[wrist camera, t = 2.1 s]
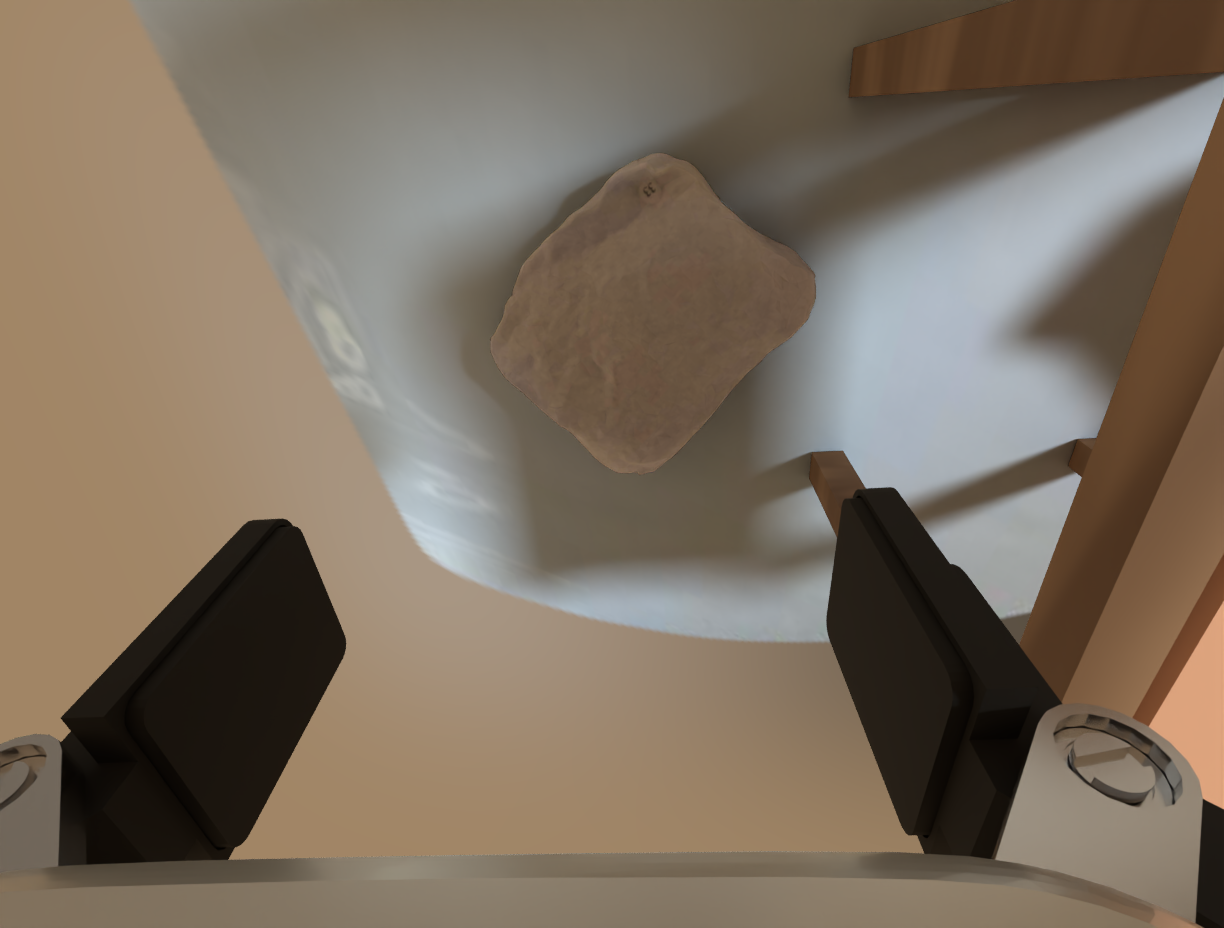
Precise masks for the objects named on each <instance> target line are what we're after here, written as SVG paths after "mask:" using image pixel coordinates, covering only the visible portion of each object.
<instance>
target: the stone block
mask: <svg viewBox="0 0 1224 928" xmlns="http://www.w3.org/2000/svg"><path fill="white" fill-rule="evenodd" d="M815 299H816V285H815V273H814V272H813V271H812V270H811V269H810V267H809V266H808V265H807V264H806V263H805V262H804V261H803V260H802V259H801V258H800V256H799V255H798V253H797V252H795V251H794V250H792V249H791V248H789V247H788V246H786V245H783V244H782V243H779V242H776V241H774V240H772V239H771V238H769V237H767V236H764V235H762V234H760V233H759V232H757V231H756V230H754V229H752V228H751V227H749V226H748V225H746V224H745V223H744V222H743V221H742V220H741V219H740V218H739V217H738V216H737V215H736V214H735V213H733V212H732V211H731V210H730V209H729V208H727V207H726V206H725V205H724V204H722V203H721V201H720V199H719V198H718V196H717V195H716V194H715V193H714V192H713V190H712V188H711V187H710V186H709V185H708V183H707V181H706V180H705V178H704V177H703V176H702V175H701V173H700V172H699V171H698V170H697V169H696V168H695V167H694V166H693V165H692V164H690V163H689V162H687V161H685V160H680V159H676V158H674V157H672V156H670V155H668V154H665V153H654V154H650V155H648V156H647V157H644V158H641V159H638V160H635V161H632V162H631V163H629V164H628V165H626V166H624V167H622V168H620V169H619V170H618V171H616V172H615V173H614V174H613V175H612V176H611V177H610V178H609V179H608V180H607V181H606V182H605V184H604V186H603V187H602V188H601V189H600V190H599V192H598V193H596V194H595V195H594V196H593V197H592V198H591V199H590V200H589V201H588V202H587V203H586V204H585V205H584V206H583V207H582V208H580V209H578V210H577V211H575V212H574V213H572V214H571V215H570V216H568V217H567V218H566V220H565V221H564V222H563V224H562V225H561V226H560V227H559V228H558V229H557V230H556V231H554V232H553V233H551V234H550V235H549V236H548V237H547V238H546V239H545V240H544V241H543V242H542V244H541V245H540V246H539V247H538V248H537V249H536V250H535V251H534V252H533V253H532V254H531V255H530V257H529V258H528V259H527V260H526V261H525V263H524V264H523V265H522V267H521V269H520V272H519V274H518V277H517V280H516V283H515V286H514V288H513V293H512V296H511V297H510V298H509V299H508V301H507V303H506V304H505V308H504V314H503V317H502V320H501V322H500V324H499V325H498V327H497V329H496V331H495V333H494V335H493V336H492V337H491V339H490V341H491V343H490V349H491V354H492V356H493V358H494V361H495V363H496V365H497V367H498V368H499V370H500V371H501V373H502V375H503V376H504V377H505V378H506V379H507V380H508V381H509V382H510V383H511V384H512V385H513V386H515V387H516V388H517V389H519V390H520V391H521V392H523V393H524V394H525V396H526V397H528V398H529V399H530V400H531V401H532V402H533V403H534V404H535V405H536V406H537V407H538V408H539V409H540V410H542V411H543V412H544V413H545V414H546V415H547V416H549V417H550V418H551V419H552V420H554V421H555V422H556V423H557V424H558V425H559V426H561V427H563V428H565V429H566V430H568V431H569V432H571V433H572V434H573V435H574V436H575V437H576V438H577V439H578V441H579V442H580V443H581V444H582V445H583V446H584V447H585V448H586V449H587V450H588V451H589V452H590V453H591V454H592V455H593V456H594V458H596V459H597V460H598V461H599V462H600V463H602V464H603V465H604V466H606V467H608V468H610V469H612V470H613V471H615V472H617V473H632V472H635V473H638V474H639V475H641V474H645V473H648V472H654V471H655V470H657V469H658V468H659V467H660V466H662V465H663V464H664V463H665V462H666V461H668V460H669V459H671V458H672V457H673V456H674V455H675V454H676V453H677V452H678V451H679V450H680V449H681V448H682V447H683V446H684V445H685V444H686V443H687V442H688V441H689V440H690V438H691V437H692V436H693V435H694V434H695V433H696V432H697V431H698V430H699V429H700V428H701V427H702V426H703V425H704V424H705V423H706V421H707V420H708V419H709V418H710V417H711V416H712V415H713V413H714V412H715V411H716V410H717V409H718V407H719V406H720V405H721V403H722V402H723V401H724V399H725V398H726V397H727V396H728V394H729V393H730V392H731V391H732V390H733V388H734V387H735V386H736V385H737V384H738V383H739V382H740V381H741V379H742V378H743V377H744V376H745V375H746V374H747V373H748V372H749V371H750V370H751V369H753V368H754V367H755V366H756V365H758V364H759V363H760V362H761V361H762V360H763V358H764V357H765V356H766V355H767V354H768V353H769V352H771V351H772V350H774V349H775V348H777V347H778V346H779V345H781V344H782V343H784V342H785V341H787V340H788V339H790V338H791V337H792V336H793V335H794V334H795V333H796V332H797V331H798V330H799V329H800V327H801V326H802V325H803V324H804V323H805V322H806V321H807V320H808V317H809V315H810V313H811V310H812V308H813V306H814V302H815Z"/></svg>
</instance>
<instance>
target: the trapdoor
mask: <svg viewBox="0 0 1224 928" xmlns="http://www.w3.org/2000/svg"><path fill="white" fill-rule="evenodd" d="M1133 719H1135V720H1137V721H1139V722H1141V723H1143V724H1144V725H1146V726H1148V727H1150V728H1151V729H1152V730H1154V731H1155V732H1156V733H1158V734H1159V735H1161V736H1162V737H1163V738H1165V739H1166V740H1167V741H1169V742H1170V743H1171V744H1172V745H1173V746H1174V747H1175V748H1176V749H1177V750H1178V751H1179V752H1180V753H1181V754H1182V755H1183V756H1184V757H1185V758H1186V759H1187V761H1188V762H1189V764H1190V765H1191V767H1192V769H1193V770H1194V772H1195V774H1196V775H1197V777H1198V779H1199V781H1200V786H1201V791H1202V797H1203V799H1205V800H1207V801H1208V802H1210V803H1212V804H1214V805H1216V806H1218V807H1220V808H1222V809H1224V554H1223V556H1222V558H1221V559H1220V561H1219V563H1218V565H1217V567H1216V568H1215V570H1214V572H1213V574H1212V576H1211V577H1210V579H1209V581H1208V583H1207V585H1206V586H1205V588H1204V590H1203V592H1202V594H1201V595H1200V597H1199V599H1198V601H1197V603H1196V604H1195V606H1194V608H1193V610H1192V612H1191V613H1190V615H1189V617H1188V619H1187V621H1186V622H1185V624H1184V626H1183V628H1182V630H1181V631H1180V633H1179V635H1178V637H1177V639H1176V640H1175V642H1174V644H1173V646H1172V648H1171V649H1170V651H1169V653H1168V655H1167V657H1166V658H1165V660H1164V662H1163V664H1162V665H1161V667H1160V669H1159V671H1158V673H1157V674H1156V676H1155V678H1154V680H1153V682H1152V683H1151V685H1150V687H1149V689H1148V691H1147V692H1146V694H1145V696H1144V698H1143V700H1142V701H1141V703H1140V705H1139V707H1138V709H1137V710H1136V712H1135V714H1134V716H1133Z"/></svg>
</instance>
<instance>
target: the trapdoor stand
mask: <svg viewBox="0 0 1224 928" xmlns="http://www.w3.org/2000/svg"><path fill="white" fill-rule="evenodd" d="M1214 72H1224V0H1015V1H1012V2H1008V3H1005V4H1001V5H998V6H995V7H991V8H988V9H985V10H981V11H978V12H974V13H971V14H968V15H964V16H961V17H957V18H954V19H951V20H947V21H944V22H940V23H937V24H934V25H930V26H927V27H923V28H920V29H917V30H913V31H910V32H906V33H903V34H900V35H896V36H893V37H889V38H886V39H883V40H879V41H876V42H872V43H869V44H866V45H862V46H859V47H855V48H854V49H853V59H852V69H851V78H850V88H849V97H861V96H876V95H891V94H905V93H920V92H935V91H950V90H964V89H979V88H994V87H1008V86H1023V85H1038V84H1052V83H1067V82H1082V81H1096V80H1111V79H1126V78H1141V77H1155V76H1170V75H1185V74H1199V73H1214ZM1068 466H1069V467H1070V468H1071V469H1072V470H1074V471H1075V472H1076V473H1077V474H1078V475H1080V476H1081V477H1082V479H1081V481H1080V484H1079V487H1078V489H1077V492H1076V495H1075V497H1074V500H1073V503H1072V505H1071V508H1070V511H1069V513H1068V516H1067V519H1066V521H1065V524H1064V527H1063V529H1062V532H1061V535H1060V537H1059V540H1058V543H1057V545H1056V548H1055V551H1054V553H1053V556H1052V559H1051V561H1050V564H1049V567H1048V570H1047V572H1046V575H1045V578H1044V580H1043V583H1042V586H1041V588H1040V591H1039V594H1038V596H1037V599H1036V602H1035V604H1034V607H1033V610H1032V612H1031V615H1030V618H1029V621H1028V623H1027V626H1026V628H1025V631H1024V634H1023V637H1022V639H1021V642H1020V645H1019V646H1020V647H1021V648H1022V650H1023V651H1024V652H1025V654H1026V655H1027V657H1028V658H1029V659H1030V661H1031V662H1032V663H1033V665H1034V666H1035V667H1036V669H1037V670H1038V671H1039V673H1040V674H1041V675H1042V677H1043V678H1044V679H1045V681H1046V682H1047V683H1048V685H1049V686H1050V688H1051V689H1052V690H1053V692H1054V693H1055V694H1056V696H1057V697H1058V698H1059V700H1060V701H1061V702H1062V704H1072V703H1083V704H1090V705H1097V706H1102V707H1105V708H1108V709H1111V710H1114V711H1117V712H1120V713H1123V714H1125V715H1127V716H1129V717H1131V718H1133V716H1134V714H1135V712H1136V710H1137V709H1138V707H1139V705H1140V703H1141V701H1142V700H1143V698H1144V696H1145V694H1146V692H1147V691H1148V689H1149V687H1150V685H1151V683H1152V682H1153V680H1154V678H1155V676H1156V674H1157V673H1158V671H1159V669H1160V667H1161V665H1162V664H1163V662H1164V660H1165V658H1166V657H1167V655H1168V653H1169V651H1170V649H1171V648H1172V646H1173V644H1174V642H1175V640H1176V639H1177V637H1178V635H1179V633H1180V631H1181V630H1182V628H1183V626H1184V624H1185V622H1186V621H1187V619H1188V617H1189V615H1190V613H1191V612H1192V610H1193V608H1194V606H1195V604H1196V603H1197V601H1198V599H1199V597H1200V595H1201V594H1202V592H1203V590H1204V588H1205V586H1206V585H1207V583H1208V581H1209V579H1210V577H1211V576H1212V574H1213V572H1214V570H1215V568H1216V567H1217V565H1218V563H1219V561H1220V559H1221V558H1222V556H1223V554H1224V99H1223V101H1222V104H1221V107H1220V109H1219V112H1218V115H1217V117H1216V120H1215V123H1214V125H1213V128H1212V131H1211V133H1210V136H1209V139H1208V141H1207V144H1206V147H1205V149H1204V152H1203V155H1202V157H1201V160H1200V163H1199V165H1198V168H1197V171H1196V173H1195V176H1194V179H1193V181H1192V184H1191V187H1190V190H1189V192H1188V195H1187V198H1186V200H1185V203H1184V206H1183V208H1182V211H1181V214H1180V216H1179V219H1178V222H1177V224H1176V227H1175V230H1174V232H1173V235H1172V238H1171V240H1170V243H1169V246H1168V248H1167V251H1166V254H1165V256H1164V259H1163V262H1162V264H1161V267H1160V270H1159V272H1158V275H1157V278H1156V280H1155V283H1154V286H1153V289H1152V291H1151V294H1150V297H1149V299H1148V302H1147V305H1146V307H1145V310H1144V313H1143V315H1142V318H1141V321H1140V323H1139V326H1138V329H1137V331H1136V334H1135V337H1134V339H1133V342H1132V345H1131V347H1130V350H1129V353H1128V355H1127V358H1126V361H1125V363H1124V366H1123V369H1122V371H1121V374H1120V377H1119V380H1118V382H1117V385H1116V388H1115V390H1114V393H1113V396H1112V398H1111V401H1110V404H1109V406H1108V409H1107V412H1106V414H1105V417H1104V420H1103V422H1102V425H1101V428H1100V430H1099V433H1098V436H1097V438H1091V439H1078V440H1077V443H1076V445H1075V448H1074V451H1073V454H1072V457H1071V460H1070V462H1069V465H1068ZM809 479H810V481H811V483H812V485H813V487H814V490H815V492H816V494H817V496H818V498H819V500H820V502H821V504H822V507H823V509H824V511H825V513H826V515H827V517H828V519H829V521H830V524H831V526H832V528H833V530H834V532H835V534H836V536H837V537H838V529H839V522H840V515H841V507H842V503H843V500H844V499H846V498H853V495H854V493H855V491H856V490H857V489H866V488H865V486H864V485H863V483H862V481H861V480H860V478H859V477H858V475H857V473H856V472H855V470H854V468H853V467H852V465H851V463H850V462H849V460H848V458H847V457H846V455H845V453H844V452H843V451H828V452H812V455H811V465H810V474H809Z"/></svg>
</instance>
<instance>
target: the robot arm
mask: <svg viewBox="0 0 1224 928" xmlns="http://www.w3.org/2000/svg"><path fill="white" fill-rule="evenodd" d="M826 621H827V632H828V636H829V639H830V642H831V645H832V647H833V650H834V653H835V655H836V658H837V660H838V663H839V665H840V668H841V671H842V673H843V676H844V678H845V681H846V684H847V686H848V689H849V691H850V694H851V696H852V699H853V702H854V704H855V707H856V710H857V712H858V714H859V717H860V720H861V723H862V725H863V727H864V730H865V733H866V735H867V738H868V741H869V743H870V746H871V749H872V751H873V754H874V756H875V759H876V761H877V764H878V767H879V769H880V772H881V774H882V777H883V780H884V782H885V785H886V787H887V790H888V793H889V795H890V798H891V800H892V803H893V805H894V808H895V811H896V813H897V816H898V818H899V821H900V823H901V826H902V828H903V829H904V831H905V832H906V834H908V835H917V836H918V839H919V841H920V844H921V846H922V848H923V851H924V854H919V853H900V852H897V853H896V852H686V853H685V852H684V853H683V852H681V853H680V852H679V853H593V854H591V853H585V854H523V855H522V854H521V855H520V854H518V855H456V856H455V855H454V856H396V857H342V858H295V859H249V860H228V859H229V857H230V855H231V853H232V852H233V850H234V848H235V847H237V846H239V845H241V844H242V843H243V842H244V841H245V840H246V839H247V837H248V835H249V834H250V832H251V830H252V828H253V826H254V825H255V823H256V820H257V819H258V817H259V815H260V813H261V811H262V809H263V808H264V806H265V804H266V802H267V800H268V798H269V796H270V794H271V793H272V790H273V789H274V787H275V785H276V783H277V781H278V779H279V777H280V776H281V774H282V772H283V770H284V768H285V766H286V764H287V762H288V760H289V759H290V757H291V755H292V753H293V751H294V749H295V747H296V745H297V743H298V742H299V740H300V738H301V736H302V734H303V732H304V730H305V728H306V727H307V725H308V723H309V721H310V719H311V717H312V715H313V713H314V711H315V710H316V708H317V706H318V704H319V702H320V700H321V698H322V696H323V695H324V693H325V691H326V689H327V687H328V685H329V683H330V681H331V680H332V678H333V676H334V674H335V672H336V670H337V668H338V666H339V664H340V663H341V660H342V659H343V656H344V654H345V649H346V638H345V635H344V632H343V630H342V627H341V625H340V623H339V620H338V618H337V615H336V613H335V611H334V608H333V606H332V603H331V601H330V599H329V596H328V594H327V591H326V589H325V586H324V584H323V582H322V579H321V577H320V574H319V572H318V569H317V567H316V565H315V562H314V560H313V558H312V555H311V553H310V550H309V548H308V545H307V543H306V541H305V538H304V536H303V533H302V532H301V530H300V529H299V528H298V527H295V526H292V524H291V523H290V522H289V521H288V520H286V519H269V520H252V521H248V522H247V523H246V524H245V525H243V526H242V527H241V528H240V530H239V531H238V532H237V533H236V534H235V535H234V536H233V537H232V538H231V539H230V540H229V541H228V542H227V543H226V544H225V545H224V546H223V547H222V548H221V550H220V551H219V552H218V553H217V554H216V555H215V556H214V557H213V558H212V559H211V560H210V561H209V562H208V563H207V564H206V565H205V566H204V567H203V568H202V570H201V571H200V572H199V573H198V574H197V575H196V576H195V577H194V578H193V579H192V580H191V581H190V582H189V583H188V584H187V585H186V586H185V587H184V588H183V590H182V591H181V592H180V593H179V594H178V595H177V596H176V597H175V598H174V599H173V600H172V601H171V602H170V603H169V604H168V605H167V607H165V609H164V610H163V611H162V612H161V613H160V614H159V615H158V616H157V617H156V618H155V619H154V620H153V621H152V622H151V623H150V624H149V625H148V627H146V629H145V630H144V631H143V632H142V633H141V634H140V635H139V636H138V637H137V638H136V639H135V640H134V641H133V642H132V643H131V644H130V645H129V647H127V649H126V650H125V651H124V652H123V653H122V654H121V655H120V656H119V657H118V658H117V659H116V660H115V661H114V662H113V663H112V665H110V666H109V668H108V669H107V670H106V671H105V672H104V673H103V674H102V675H101V676H100V677H99V678H98V679H97V680H96V681H95V682H94V683H93V684H92V685H91V687H90V688H89V689H88V690H87V691H86V692H85V693H84V694H83V695H82V696H81V697H80V698H79V699H78V700H77V701H76V702H75V704H73V705H72V706H71V708H70V709H69V710H68V711H67V712H66V713H65V714H64V715H63V716H62V717H61V719H62V720H63V722H64V723H65V724H66V725H67V727H68V728H69V729H70V730H71V732H70V733H69V734H68V735H67V736H66V738H65V739H64V740H63V741H62V742H60V741H59V740H57V739H56V738H54V737H52V736H51V735H44V734H33V735H28V736H23V737H18V738H15V739H12V740H9V741H7V742H4V743H2V744H0V928H1224V809H1222V808H1220V807H1218V806H1216V805H1214V804H1212V803H1210V802H1208V801H1207V800H1205V799H1203V797H1202V791H1201V786H1200V781H1199V779H1198V777H1197V775H1196V774H1195V772H1194V770H1193V769H1192V767H1191V765H1190V764H1189V762H1188V761H1187V759H1186V758H1185V757H1184V756H1183V755H1182V754H1181V753H1180V752H1179V751H1178V750H1177V749H1176V748H1175V747H1174V746H1173V745H1172V744H1171V743H1170V742H1169V741H1167V740H1166V739H1165V738H1163V737H1162V736H1161V735H1159V734H1158V733H1156V732H1155V731H1154V730H1152V729H1151V728H1150V727H1148V726H1146V725H1144V724H1143V723H1141V722H1139V721H1137V720H1135V719H1133V718H1131V717H1129V716H1127V715H1125V714H1123V713H1120V712H1117V711H1114V710H1111V709H1108V708H1105V707H1102V706H1097V705H1090V704H1083V703H1072V704H1062V702H1061V701H1060V700H1059V698H1058V697H1057V696H1056V694H1055V693H1054V692H1053V690H1052V689H1051V688H1050V686H1049V685H1048V683H1047V682H1046V681H1045V679H1044V678H1043V677H1042V675H1041V674H1040V673H1039V671H1038V670H1037V669H1036V667H1035V666H1034V665H1033V663H1032V662H1031V661H1030V659H1029V658H1028V657H1027V655H1026V654H1025V652H1024V651H1023V650H1022V648H1021V647H1020V646H1019V644H1018V643H1017V642H1016V640H1015V639H1014V638H1013V636H1012V635H1011V634H1010V632H1009V631H1008V630H1007V628H1006V627H1005V626H1004V624H1003V623H1002V621H1001V620H1000V619H999V617H998V616H997V615H996V613H995V612H994V611H993V609H992V608H991V607H990V605H989V604H988V603H987V601H986V600H985V599H984V597H983V596H982V594H981V593H980V592H979V590H978V589H977V588H976V586H975V585H974V584H973V582H972V581H971V580H970V578H969V577H968V576H967V574H966V573H965V572H964V571H963V570H962V569H961V568H960V567H958V566H956V565H954V564H950V563H949V562H948V561H947V559H946V558H945V557H944V555H943V554H942V552H941V551H940V550H939V548H938V547H937V545H936V544H935V543H934V541H933V540H932V538H931V537H930V536H929V534H928V533H927V532H926V530H925V529H924V527H923V526H922V525H921V523H920V522H919V520H918V519H917V518H916V516H915V515H914V514H913V512H912V511H911V509H910V508H909V507H908V505H907V504H906V502H905V501H904V500H903V498H902V497H901V496H900V494H899V493H898V491H897V490H896V489H895V488H891V487H889V488H870V489H857V490H856V491H855V493H854V495H853V498H846V499H844V500H843V503H842V507H841V515H840V522H839V529H838V537H837V544H836V551H835V559H834V566H833V573H832V581H831V588H830V596H829V603H828V610H827V620H826Z"/></svg>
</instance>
